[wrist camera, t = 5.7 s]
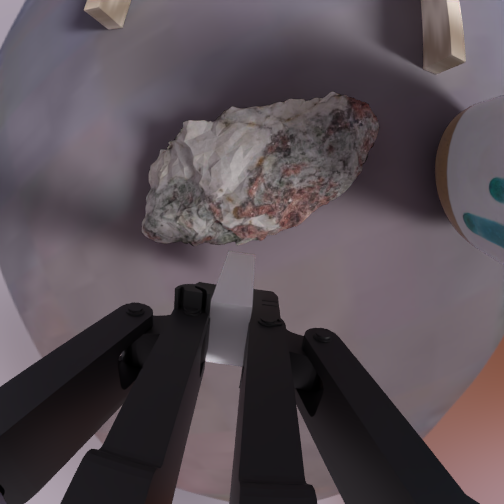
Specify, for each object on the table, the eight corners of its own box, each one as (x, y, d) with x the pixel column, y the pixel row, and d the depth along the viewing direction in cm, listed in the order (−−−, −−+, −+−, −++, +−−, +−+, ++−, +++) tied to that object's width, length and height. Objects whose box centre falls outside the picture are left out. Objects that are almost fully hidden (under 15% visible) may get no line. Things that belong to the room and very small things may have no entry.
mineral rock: (158, 251, 21) (135, 272, 16) (135, 139, 18) (105, 134, 14) (369, 217, 20) (396, 231, 15) (353, 102, 17) (378, 87, 13)
